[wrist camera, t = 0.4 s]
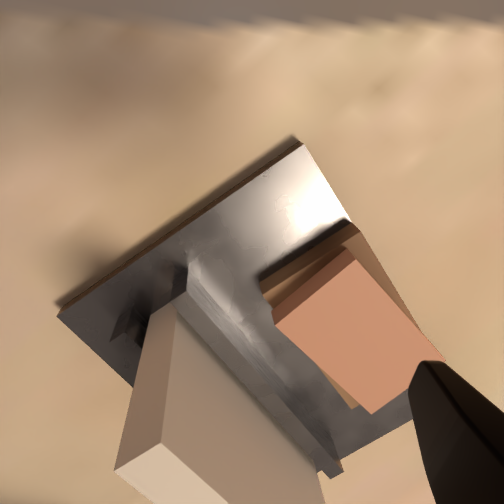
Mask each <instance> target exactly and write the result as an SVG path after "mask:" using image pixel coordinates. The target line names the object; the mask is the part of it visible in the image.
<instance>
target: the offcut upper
mask: <svg viewBox="0 0 504 504" xmlns="http://www.w3.org/2000/svg"><path fill="white" fill-rule="evenodd" d="M271 314H272V317H273V321H274V325H275V326H276V327H277V328H278V329H279V330H280V331H281V332H282V333H283V334H284V335H286V336H287V337H288V338H289V339H290V340H291V341H292V342H293V343H294V344H295V345H296V346H297V347H299V348H300V349H301V350H302V351H303V352H304V353H305V354H306V355H307V356H308V357H309V358H311V359H312V360H313V361H314V362H315V363H316V364H317V365H318V366H319V367H320V368H321V369H322V370H324V371H325V372H326V373H327V374H328V375H329V376H330V377H331V378H332V379H333V380H334V381H336V382H337V383H338V384H339V385H340V386H341V387H342V388H343V389H344V390H345V391H346V392H347V393H349V394H350V395H351V396H352V397H353V398H354V399H355V400H356V401H357V402H358V403H359V404H361V405H362V406H363V407H364V408H365V409H366V410H367V411H368V412H369V413H370V414H373V413H374V412H376V411H377V410H378V409H380V408H381V407H383V406H384V405H385V404H387V403H388V402H389V401H391V400H392V399H394V398H395V397H396V396H398V395H399V394H401V393H402V392H403V391H405V390H406V389H407V388H408V387H409V384H410V382H411V380H412V377H413V375H414V373H415V371H416V368H417V366H418V364H419V363H420V362H421V361H423V360H436V361H442V362H445V361H446V360H445V359H444V358H443V356H442V355H441V354H440V353H439V352H438V351H437V349H436V348H435V347H434V346H433V345H432V344H431V342H430V341H429V340H428V339H427V338H426V337H425V336H424V335H423V333H422V332H421V331H420V330H419V329H418V328H417V327H416V326H415V324H414V323H413V322H412V321H411V320H410V319H409V318H408V317H407V315H406V314H405V313H404V312H403V311H402V310H401V309H400V307H399V306H398V305H397V304H396V303H395V302H394V301H393V300H392V298H391V297H390V296H389V295H388V294H387V293H386V292H385V291H384V289H383V288H382V287H381V286H380V285H379V284H378V283H377V282H376V280H375V279H374V278H373V277H372V276H371V275H370V274H369V273H368V271H367V270H366V269H365V268H364V267H363V266H362V265H361V264H360V262H359V261H358V260H357V259H356V258H355V257H354V256H353V255H352V253H351V252H350V251H349V250H348V249H347V248H346V249H345V250H344V251H343V252H342V253H340V254H339V255H338V256H337V257H336V258H334V259H333V260H332V261H331V262H330V263H328V264H327V265H326V266H325V267H324V268H322V269H321V270H320V271H319V272H318V273H316V274H315V275H314V276H313V277H312V278H310V279H309V280H308V281H307V282H305V283H304V284H303V285H302V286H301V287H299V288H298V289H297V290H296V291H295V292H293V293H292V294H291V295H290V296H289V297H287V298H286V299H285V300H284V301H283V302H281V303H280V304H279V305H278V306H277V307H275V308H274V309H273V310H272V311H271Z"/></svg>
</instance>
